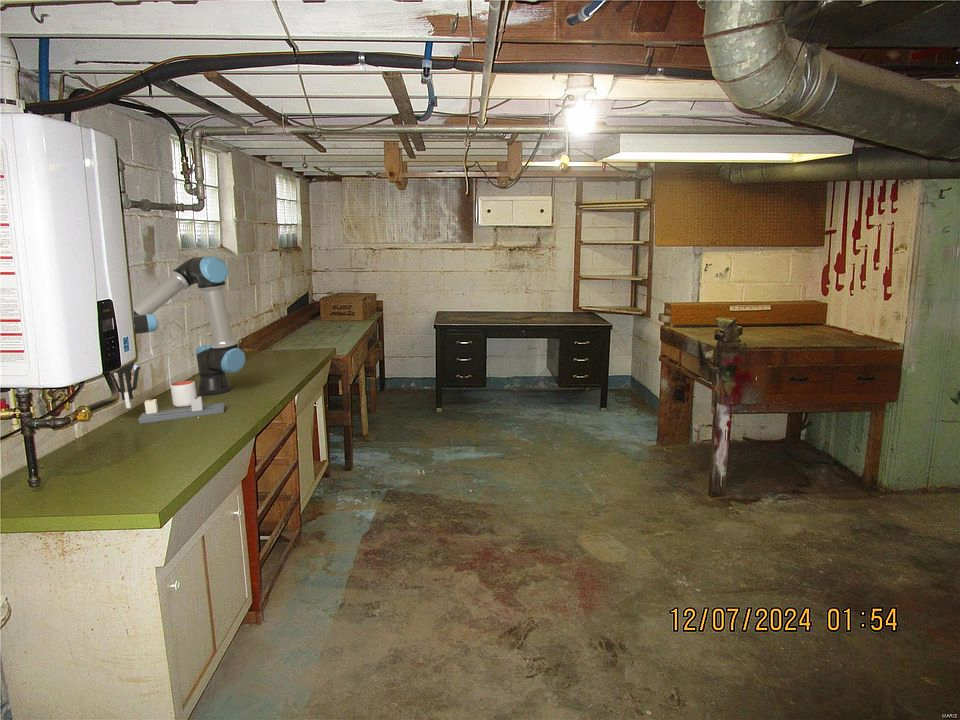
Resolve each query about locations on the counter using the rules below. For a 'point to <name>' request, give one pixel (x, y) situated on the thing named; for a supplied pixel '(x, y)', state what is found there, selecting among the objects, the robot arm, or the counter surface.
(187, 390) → the cup
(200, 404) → the fader
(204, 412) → the console
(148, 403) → the fader
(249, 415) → the counter surface
